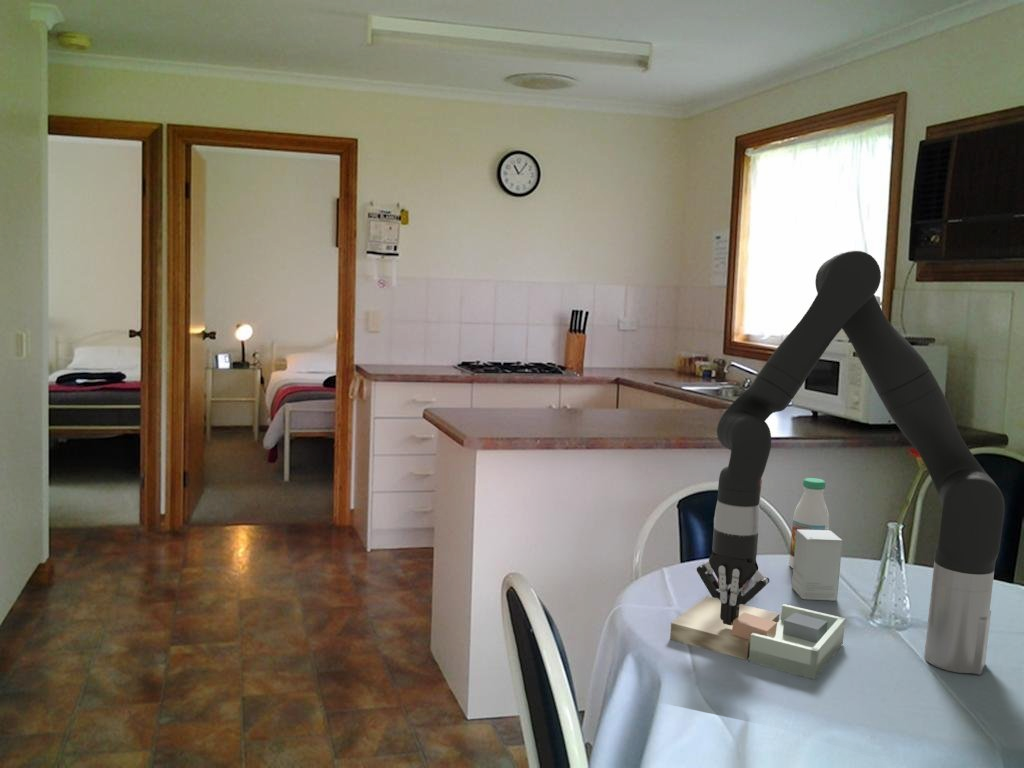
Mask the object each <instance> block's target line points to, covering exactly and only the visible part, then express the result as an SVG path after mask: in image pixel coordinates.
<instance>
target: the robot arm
mask: <svg viewBox="0 0 1024 768" xmlns="http://www.w3.org/2000/svg"><path fill="white" fill-rule="evenodd" d="M881 274H882V272H881V267H880V265H879V263H878V261H877V260H876V259H875V257H873V256H872V255H871V254H870V253H868V252H866V251H863V250H862V251H861V250H855V249H854V250H847V251H843V252H841V253H838V254H836V255H834V256H833V257H830V258H829V259H828V260H826V261H825V262H823V263H822V265H821V266H819V268H818V270H817V273H816V276H815V279H814V280H815V282H814V283H815V284H814V285H815V289H816V292H817V294H816V296H815V298H814V300H813V302H812V303H811V304H810V306H809V308H808V309H807V311H806V312H805V314H804V315H803V317H802V318H801V319H800V321H798V323H797V324H796V325H795V327H794V328H793V329H792V330H791V331H790V333H789V334H787V336H786V337H785V338H784V340H782V342H781V343H780V344H779V345H778V347H776V349H775V350H774V351H773V353H772V354H771V355H770V356H769V358H768V360H767V361H766V362H765V364H764V365H763V367H762V368H761V369H760V371H759V372H758V374H757V375H756V377H755V379H754V380H753V382H752V384H751V385H750V386H749V387H747V389H745V390H744V391H743V392H742V393H741V394H740V395H739V396H738V397H737V398H736V399H735V400H733V402H732V403H731V404H730V405H729V407H727V408H726V410H725V411H724V412H723V414H722V415H721V417H720V419H719V421H718V423H717V427H716V436H717V439H718V441H719V443H720V444H721V445H722V446H723V447H724V448H725V449H728V450H730V458H729V462H728V466H725V467H723V468H722V469H721V471H720V474H719V477H718V486H717V487H718V488H717V497H716V498H717V501H716V505H715V510H714V517H713V532H712V533H713V535H712V546H711V547H712V549H711V551H712V552H711V555H710V556H709V558H708V561H707V562H706V563H705V562H704V563H702V564H700V565H698V566H697V567H696V572H697V574H698V575H699V577H700V579H701V581H702V582H703V584H704V586H705V588H706V589H707V591H708V592H709V594H710V597H713V598H717V599H719V600H720V601H721V614H720V618H721V620H723V624H727V625H731V626H732V625H733V620H735V619H736V618H737V617H739V607H740V604H742V605H746V604H748V603H749V602H750V601H751V600H752V599H753V598H754V597H755V596H757V594H759V593H760V592H761V590H763V589H764V588H765V587H766V586H767V585H768V584H769V583H770V581H771V580H770V578H769V577H768V576H764V575H762V573H761V572H760V571H759V564H758V562H757V555H758V543H759V542H758V540H759V531H760V530H759V528H760V506H759V500H760V501H761V496H760V487H761V488H762V485H761V479H763V475H764V472H765V470H766V466H767V463H768V459H769V457H770V452H771V448H772V433H771V429H770V427H769V425H768V424H767V422H766V421H767V419H768V418H769V417H770V416H771V415H773V413H778V412H782V411H784V410H785V409H786V408H787V407H788V406H789V405H790V404H791V402H792V400H793V399H794V397H796V395H797V393H798V392H799V390H800V389H801V387H802V385H804V383H805V381H806V380H807V378H808V377H809V375H810V374H811V372H812V371H813V369H814V368H815V367H816V365H817V363H818V362H819V360H820V359H821V357H822V356H823V354H824V353H825V351H826V350H827V349H828V347H829V346H830V345H831V343H832V342H833V340H834V339H835V337H836V336H837V335H838V334H839V333H840V331H843V332H844V334H845V335H846V337H847V338H848V339H849V342H850V343H851V345H852V347H853V349H854V352H855V353H856V355H857V357H858V359H859V361H860V363H861V365H862V367H863V369H864V370H865V373H866V374H867V376H868V378H869V380H870V382H871V384H872V385H873V387H874V390H875V391H876V394H877V396H878V397H879V399H880V401H881V402H882V404H883V405H884V407H885V409H886V412H888V414H889V416H890V417H891V419H892V420H893V421H894V423H895V424H896V426H897V427H898V429H899V430H900V431H901V433H902V435H904V437H905V438H906V439H907V440H908V442H909V443H910V444H911V445H912V446H913V448H914V449H915V450H916V452H917V454H918V455H919V456H920V458H921V460H922V462H923V464H924V465H925V468H926V470H927V471H928V474H929V476H930V478H931V482H932V483H933V485H934V487H935V490H936V493H937V496H938V499H939V502H940V504H941V506H942V510H941V518H940V519H941V520H940V529H939V538H938V542H937V544H936V547H935V552H934V561H933V562H934V564H933V571H932V580H931V581H932V582H931V591H930V600H929V608H928V618H927V630H926V639H925V644H924V659H925V660H926V661H927V662H928V664H929V663H930V664H931V665H933V666H934V667H937V668H939V669H942V670H945V671H948V672H953V673H959V674H973V675H979V676H980V675H982V673H983V669H984V668H985V664H986V660H987V659H986V658H987V650H988V641H989V633H990V626H991V615H992V611H991V605H992V604H991V603H992V593H993V584H994V578H995V577H994V575H995V568H996V561H997V559H998V558H999V553H1000V549H1001V541H1002V537H1003V536H1002V534H1003V527H1004V519H1005V509H1006V508H1005V507H1006V505H1005V504H1006V503H1005V498H1004V495H1003V493H1002V491H1001V489H1000V488H999V486H998V484H996V482H995V481H994V480H993V478H991V476H990V475H989V474H988V473H987V472H986V471H985V469H984V468H983V467H982V466H981V464H980V463H979V461H978V459H976V458H975V456H974V454H973V453H972V452H971V450H970V449H969V448H968V446H967V444H966V442H965V441H964V439H963V438H962V435H961V434H960V431H959V429H958V426H957V423H956V421H955V418H954V415H953V412H952V410H951V407H950V406H949V403H948V400H947V398H946V397H945V393H944V391H943V390H942V388H941V386H940V384H939V383H938V381H937V379H936V377H935V376H934V374H933V372H932V370H931V368H930V366H929V365H928V364H927V362H926V360H925V359H924V358H923V356H922V355H921V354H920V353H919V352H918V351H917V349H916V348H915V347H914V346H913V345H912V344H911V343H910V342H909V341H908V340H907V339H906V338H905V337H904V336H903V335H902V334H901V333H900V332H899V331H898V330H897V329H896V328H895V327H894V326H893V324H891V322H890V321H889V319H888V318H887V317H886V314H885V313H884V311H883V310H882V307H881V306H880V303H879V301H878V300H877V297H876V296H875V293H876V292H877V291H878V289H879V287H880V283H881V280H882V279H881V278H882V275H881ZM713 573H714V574H713ZM752 577H753V580H752V583H751V584H752V585H753V586H752V587H751V588H750V589H749V590H748V591H747V592H745V594H743V590H744V589H745V588H744V584H746V583H747V584H748V582H749V581H750V580H751V579H752ZM716 578H717V579H716ZM718 580H719V584H718ZM747 584H746V585H747ZM743 588H744V589H743Z"/></svg>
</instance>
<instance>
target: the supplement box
mask: <svg viewBox="0 0 1024 768" xmlns="http://www.w3.org/2000/svg"><path fill="white" fill-rule="evenodd" d="M842 548H843V539H842V538H840V537H839V536H838V535H837V534H835V533H834V532H833V531H832V530H830V529H829V530H798V529H797V531H796V542H795V554H794V567H793V568H792V580H791V588H792V590H794V591H795V593H796V594H797V595H798V596H799V598H800V599H802V600H811V601H813V600H815V601H832V602H833V601H837V600H838V598H839V597H838V595H839V586H840V585H839V584H840V573H841V572H840V571H841V561H842V560H841V559H842Z"/></svg>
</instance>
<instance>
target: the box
mask: <svg viewBox="0 0 1024 768" xmlns="http://www.w3.org/2000/svg"><path fill="white" fill-rule="evenodd" d="M793 613H798V614H802V615H806V616H810V617H813V618H817V619H821V620H825V621H828V623H827V632H826V633H825V634H824V635H823V637H822V638H821V639H820V640H819V641H818V642H817V643H814V642H810V641H806V640H803V639H799V638H796V637H792V636H788V635H785V634H783V626H784V620H785V619H786V618H788V617H789V616H790V615H792V614H793ZM845 625H846V618H845V617H841V616H837V615H832V614H828V613H825V612H820V611H816V610H812V609H807V608H804V607H803V608H802V607H799V606H794V605H789V604H785V603H783V604H782V605H781V615H780V619H779V622H778V623H777V628H776V636H775V637H774V638H772V637H768V636H764V635H760V634H756V633H752V634H751V640H750V653H749V658H748V663H752V664H756V665H760V666H763V667H767V668H771V669H774V670H778V671H782V672H784V673H785V672H786V673H790V674H793V675H797V676H801V677H804V678H807V679H812V680H814V681H815V680H816V679H817V677H818V676H819V675H820V674H821V672H822V671H823V670H824V669H825V667H826V666H827V664H829V663H830V661H831V660H832V659H831V658H833V657H834V656H835V655H836V654H837V652H838V651H839V650H840V649H841V648H842V646H843V645H844V637H845V628H846V627H845ZM842 644H843V645H842ZM841 645H842V646H841ZM839 648H840V649H839ZM838 649H839V650H838ZM837 650H838V651H837ZM835 653H836V654H835ZM834 654H835V655H834ZM833 655H834V656H833ZM830 659H831V660H830Z"/></svg>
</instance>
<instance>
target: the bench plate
mask: <svg viewBox="0 0 1024 768" xmlns="http://www.w3.org/2000/svg"><path fill="white" fill-rule="evenodd" d="M742 613H748V614H751V615H754V616H758V617H761V618H764V619H768V620H771V621H774V622H777V623H778V622H779V621H780V613H779V612H774V611H771V610H766V609H762V608H758V607H755V606H749V605H746V604H744V605H743V604H740V607H739V616H740V615H741V614H742ZM720 614H721V601H720V600H719V599H718V598H714V597H712V596H708V595H707V596H705V597H704V598H703V599H701V600H700V601H699V602H697V603H696V604H695V605H693V606H691V608H689V609H688V610H686V611H685V612H684V613H682V614H681V615H680V616H679V617H677V618H676V619H674V620H673V621H672V622H670V635H669V639H670V640H671V639H672V640H673V641H676V642H680V643H683V644H687V645H691V646H694V647H698V648H700V649H705V650H709V651H712V652H713V651H714V652H715V653H720V654H723V655H726V656H727V655H728V656H730V655H731V657H734V658H739V659H742V660H745V661H748V660H749V653H750V640H748V639H745V638H741V637H738V636H735V635H732V627H733V625H732V626H731V625H727V624H723V620H721V618H720ZM672 640H671V641H672Z"/></svg>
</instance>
